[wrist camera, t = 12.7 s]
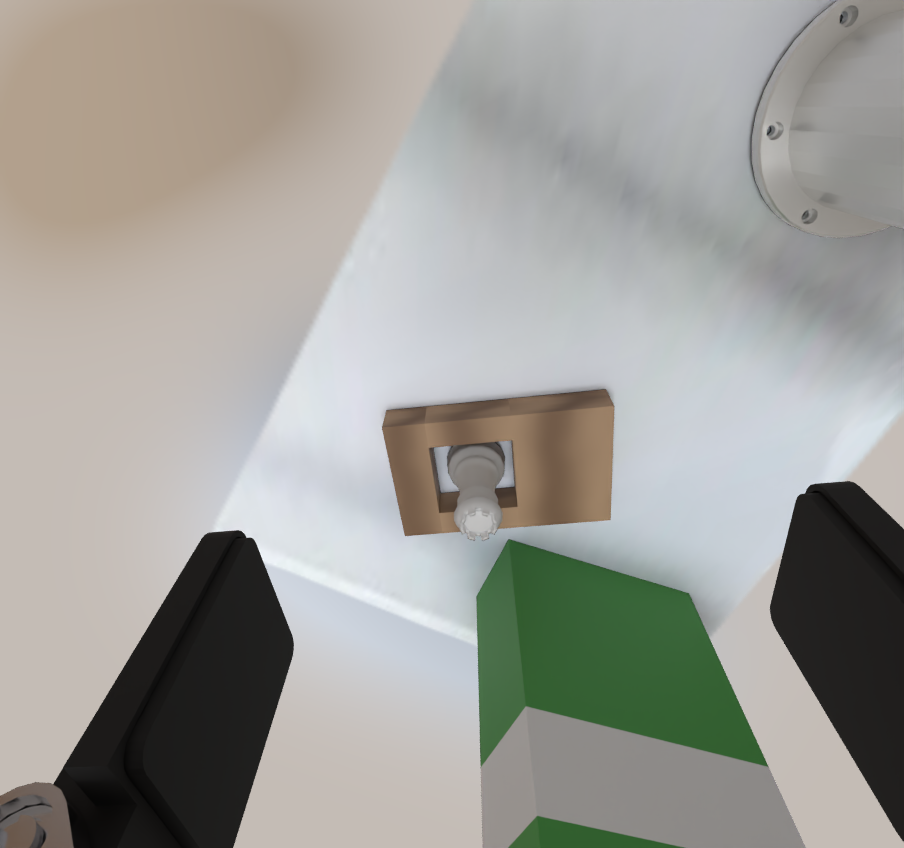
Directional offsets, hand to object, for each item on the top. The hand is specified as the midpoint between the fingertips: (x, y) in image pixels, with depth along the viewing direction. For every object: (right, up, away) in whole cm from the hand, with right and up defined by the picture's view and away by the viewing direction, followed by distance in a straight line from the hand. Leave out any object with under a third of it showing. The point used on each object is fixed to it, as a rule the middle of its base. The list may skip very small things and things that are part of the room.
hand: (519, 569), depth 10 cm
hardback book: (+11, -13, +40) cm, 44 cm away
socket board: (+2, 0, +33) cm, 33 cm away
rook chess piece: (+1, 0, +33) cm, 33 cm away
